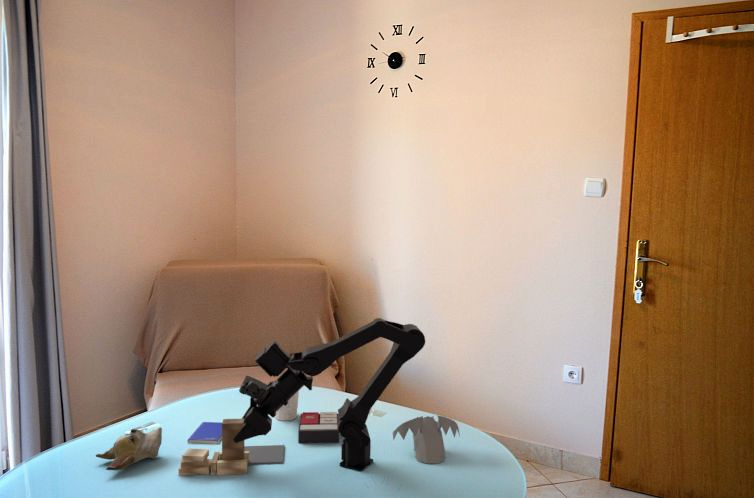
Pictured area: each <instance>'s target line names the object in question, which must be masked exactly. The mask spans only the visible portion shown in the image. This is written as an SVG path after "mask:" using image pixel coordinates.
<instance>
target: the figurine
mask: <svg viewBox="0 0 754 498" xmlns="http://www.w3.org/2000/svg"><path fill="white" fill-rule="evenodd" d="M436 416H437V419H438V420H435V418H434V415H433V416H430V415H429V416H425V417H424V416H423V415H422V416H419V417H418V416H416V417H415V418H412V419H409V420H407V421H404V422H403V423H401V424H400V425H398V427H396V428H395V429H394V430H393V431H392V439H393V441H395V439H396V437H397V434H398V433H399V435H400V436H401V438H402V440H405V438H406V436H407V434H408V432H409V430H410V432H411V433H412V439H413V451H414V452H415V453H414V454H415V456H414V457H415V459H416V461H418V462H421V463H425V464H440V463H442V462H444V461H445V460H446V450H445V445H444V444H445V443H444V437H443V433H444V435H445V436H447V434H448V432H449V429H450V430H451V432H452V435H453V437H454V438H456V434H457V433H458V436H459V437H461V436H460V429H459V425H458V423H457V422H456V421H455V420H453V419H451V418H448V417H446V416H442V415H438V414H437V415H436ZM441 429H442V430H441ZM442 431H443V432H442Z"/></svg>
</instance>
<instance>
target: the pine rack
mask: <svg viewBox="0 0 754 498" xmlns="http://www.w3.org/2000/svg"><path fill="white" fill-rule="evenodd" d="M211 459H212V461H211V469H210V475H211V476H221V475H222V476H223V475H224V476H226V475H247V474H248V465H250V464H249V451H244V460H222V451H214V453H213V456H212V458H211Z"/></svg>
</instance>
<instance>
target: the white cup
mask: <svg viewBox="0 0 754 498" xmlns="http://www.w3.org/2000/svg"><path fill="white" fill-rule="evenodd" d="M299 391H300V390H299ZM299 391H298V392H297V393H296V394H295V395H294V396H292V397H291V398H290V399H289V400H288V404H287V405H286V406H285V405H283V406H282V407H281V408H280V409H279V410H278V411H277V412H276V415H275V416H274V417H273V418H275V420H276V421H277V420H278V421H281V422H283V421H284V422H286V421H288V422H289V421H292V420H293V421H294V420H295V419H297V417H298V407H299V394H300V393H299Z"/></svg>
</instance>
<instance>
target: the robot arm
mask: <svg viewBox="0 0 754 498" xmlns="http://www.w3.org/2000/svg"><path fill="white" fill-rule="evenodd" d="M380 338H381V339H382V338H383V339H385V340H387V341H390V342H392V343H393V344H392V346H391V349H390V351H389V353H388V355H387V356H386V357H385V359H384V360H382V361H383V362H382V363H381V365H380V366H379V367H378V368H377V370H376V371H375V373H374V374H373V375H372V377H371V378H370V379H369V381H367V383H366V385H365V386H364V387H363V389H362V391H361V392H360V393H359V394H358V395H357V396H356V397H355V398H353V400H350V399H349V398H348V397H347V398H346V399H345V401H344V403H343V405H342V406H340V407H339V408H338V409H337V412H338V413H337V414H338V416H337V422H338V429H339V436H341V437H342V438H343V439H342V444H341V449H340V450H341V452H340V454H341V456H340V457H341V462H339V466H340V467H345V468H348V469H351V470H355V471H359V472H362V471H364V470H365V469H366V468H367V467H369V465H371V464H372V463H374V458H371V448H372V447H371V442H372V441H371V437H370V433H369V429H368V426H367V424H366V422H367V421H368V418H369V415H370V411H371V409H372V408H373V406H374V405H375V404H376V403H377V401H378V400H379V398H380V397H381V395H382V394H383V393H384V392H385V390H386V389H387V387H388V386H389V384H390V383H391V382H392V380H393V379H395V376H396V375H397V374H398V372H399V371H400V370H401V368H402V367H403V366H404V364H406V363H407V362H408V361H410V360H412V359H413V358H414V357H415V356H417V354H419V352H421V350H423V348H424V346H425V344H426V336H425V334H424V332H422V331H421V329H420V328H419V327H418V326H417V325H415V324H413V323H408V324H401V323H398V322H395V321H394V322H393V321H389V320H386V319H383V318H381V317H377V318H374V319H373V320H372V321H371V322H369V323H367V324H364V325H363V326H361V327H359V328H356V329H354V330H353V331H351V332H349V333H347V334H345V335H343V336H341V337H339V338H337V339H335V340H333V341H329V342H326V343H320V344H317V345H313V346H312V345H311V346H309V347H307V348H305V349H304V350H303V351H298V352H291V353H287V352H286V351H285V350H284V349H283V348H282V347H281V345H280V344H279V343H278V342H277V340H276V341H273V342H272V343H270V344H268V345H267V346H265V347H263V349H262V350H261V351H259V353H258V354H257V355H256V356H255V357H254V359H253V362H255V363H256V364H257V366H258V367H260V368H261V369H262V370H263V371H264V372H265V373H266V374H267V375H268V376H269V377H270V378H271V377H274V378H276V377H277V379H275V380H274V381H273V380H272V381H269V382H268V383H267V384H266V383H265V382H263V381H261V380H259V379H257V378H254V377H252V376H250V375H245V376H244V378H243V381H242V383H241V385H240V387H239V389H238V391H239V393H240V394H242V395H246V396H248V397H250V401H249V407H248V408H247V410H246V411H245V413H244V414H243V416H242V417H241V419H244V426H243V427H242V428H241V430H240V431H239V432H238V433H237V435H236V436H235V438H234V439H233V441H234V442H235V443H238V442H241V441H243V440H244V441H247V440H248V439H251V438H255V437H258V436H266V435H267V434H268V433H270V431H272V427H273V426H272V425H273V419H272V418H275V417H274V416H275V415H276V412H277V411H278V410H279V409H280V408H281V407H282V406H283V405H285V406H286V405H287V404H288V400H289V399H290V398H291V397H292V396H294V395H295V394H296V393H297V392H298V391H301V389H302V388H303V387H304V386H305V388H306V389H308V390H309V391H312V390H313V382H314V377H316V376H319V375H320V374H321V373H323V372H324V371H326V369H328V368H330V367H331V366H332V365H333V364H334V363H335V361H337V360H338V359H340V358H342V357H344V356H346V355H348V354H350V353H352V352H354V351H356V350H358V349H359V348H362V347H363V346H365V345H368V344H369V343H372V342H373V341H375V340H377V339H380Z"/></svg>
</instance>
